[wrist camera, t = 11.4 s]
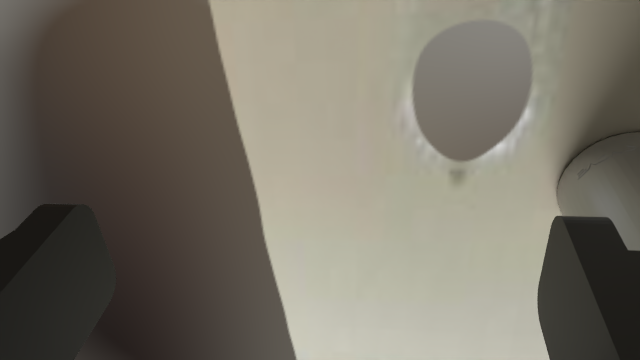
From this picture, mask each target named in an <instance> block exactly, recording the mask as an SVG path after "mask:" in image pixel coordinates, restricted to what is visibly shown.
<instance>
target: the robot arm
mask: <svg viewBox="0 0 640 360" xmlns="http://www.w3.org/2000/svg"><path fill="white" fill-rule="evenodd" d="M557 201H558V205H559V208H560V211H561V213H562V216H556V217H555V218H554V220H553V222H552V225H551V229H550V234H549V239H548V243H547V248H546V253H545V257H544V262H543V267H542V272H541V276H540V281H539V286H538V315H539V321H540V325H541V329H542V332H543V336H544V340H545V343H546V347H547V351H548V354H549V358H550V360H640V132H634V133H625V134H620V135H616V136H612V137H609V138H607V139H604V140H602V141H600V142H597V143H595V144H594V145H592V146H590V147H589V148H587V149H586V150H584V151H583V152H581V153H580V154H579V155H578V156H577V157H576V158H575V159H574V160H572V162H571V163H570V164H569V166H568V167H567V168H566V169H565V171H564V173H563V175H562V177H561V179H560V181H559V185H558V190H557ZM115 283H116V273H115V268H114V265H113V262H112V259H111V257H110V254H109V251H108V249H107V246H106V244H105V241H104V238H103V236H102V233H101V230H100V227H99V225H98V222H97V220H96V217H95V215H94V212H93V211H92V209H91V208H90V207H89V206H87V205H84V204H43V205H40V206H38V207H37V208H36V209H35V210H34V211H33V212H32V213H31V214H30V215H29V216H28V217H27V218H26V219H25V220H24V221H23V222H22V223H21V224H20V226H19V227H18V228H17V229H16V230H15V231H13V232H11V233H9V234H8V235H6V236H5V237H3V238H2V239H0V360H74V359H75V357H76V356H77V354H78V352H79V351H80V349H81V348H82V346H83V344H84V343H85V341H86V339H87V338H88V336H89V334H90V333H91V331H92V330H93V328H94V327H95V325H96V323H97V321H98V320H99V318H100V317H101V315H102V313H103V312H104V310H105V309H106V307H107V306H108V304H109V302H110V300H111V298H112V296H113V293H114V289H115Z"/></svg>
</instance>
